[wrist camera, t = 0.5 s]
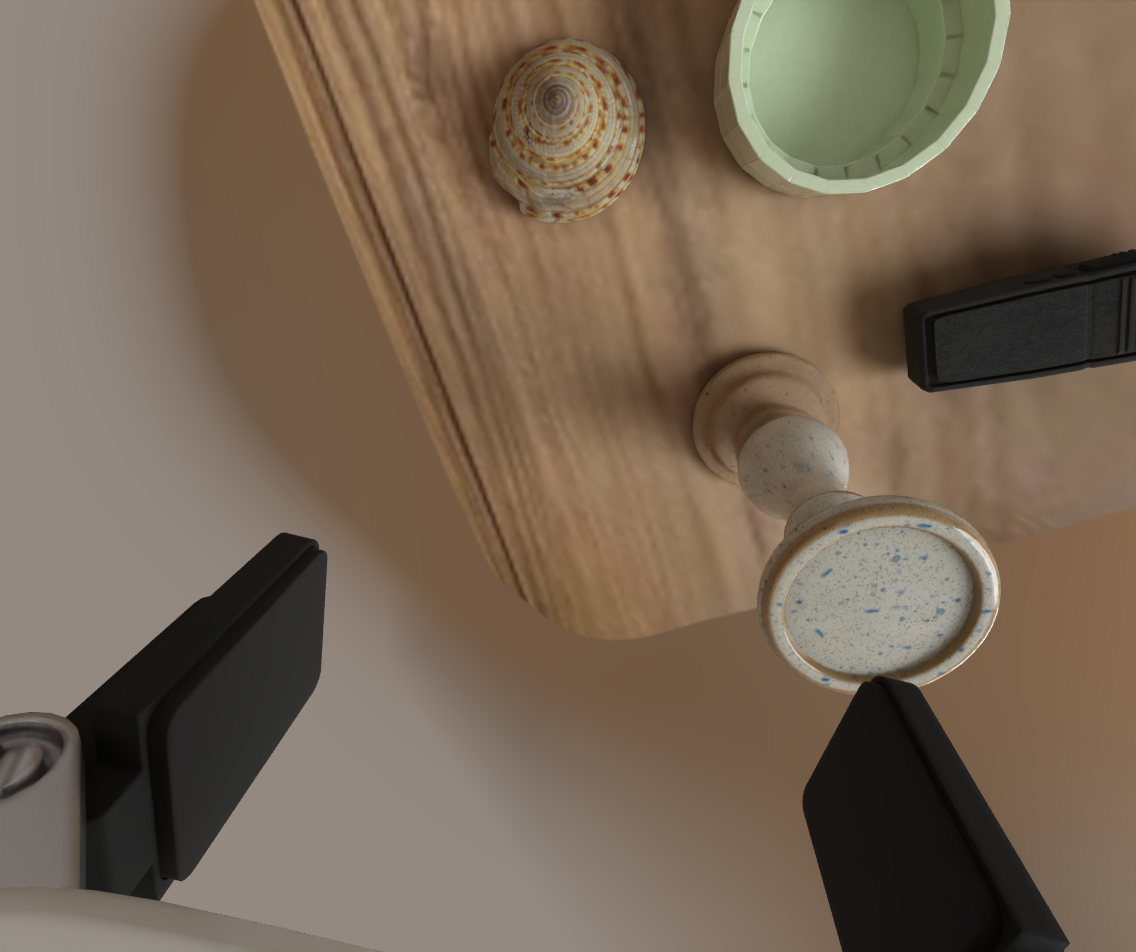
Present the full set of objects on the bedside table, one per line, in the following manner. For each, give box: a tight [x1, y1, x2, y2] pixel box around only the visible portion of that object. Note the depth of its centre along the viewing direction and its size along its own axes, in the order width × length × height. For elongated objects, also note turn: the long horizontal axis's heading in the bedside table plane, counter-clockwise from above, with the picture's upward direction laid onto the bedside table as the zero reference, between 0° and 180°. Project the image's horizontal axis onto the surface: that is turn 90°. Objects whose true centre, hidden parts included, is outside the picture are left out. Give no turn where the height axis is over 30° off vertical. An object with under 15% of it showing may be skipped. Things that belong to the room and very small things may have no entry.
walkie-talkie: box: [903, 249, 1136, 392], centre depth 31 cm, size 6×6×20 cm
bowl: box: [713, 0, 1010, 197], centre depth 29 cm, size 11×11×6 cm
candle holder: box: [692, 352, 1001, 695], centre depth 29 cm, size 9×9×20 cm
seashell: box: [488, 38, 645, 224], centre depth 33 cm, size 8×6×8 cm
